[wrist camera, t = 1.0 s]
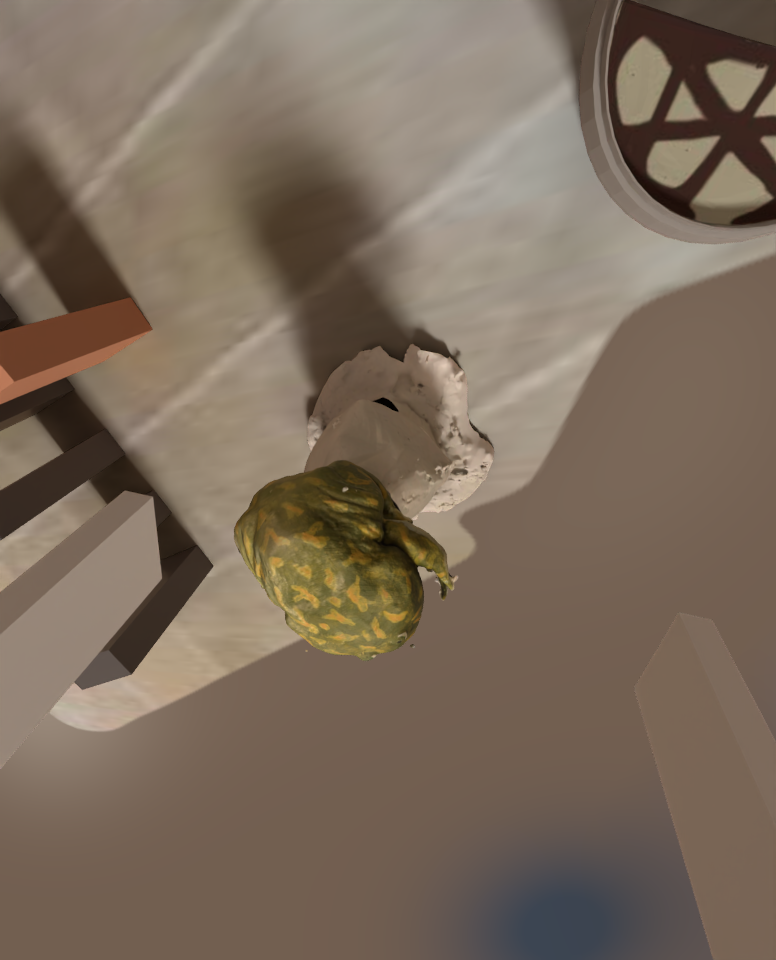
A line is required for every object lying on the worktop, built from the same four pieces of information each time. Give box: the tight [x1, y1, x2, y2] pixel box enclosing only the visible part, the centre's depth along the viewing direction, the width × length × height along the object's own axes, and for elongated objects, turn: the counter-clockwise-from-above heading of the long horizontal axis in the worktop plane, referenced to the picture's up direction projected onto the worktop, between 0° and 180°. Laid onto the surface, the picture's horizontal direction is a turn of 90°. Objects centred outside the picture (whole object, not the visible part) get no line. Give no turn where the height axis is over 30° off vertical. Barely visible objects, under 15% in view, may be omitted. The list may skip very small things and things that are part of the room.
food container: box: [579, 0, 776, 244], centre depth 22 cm, size 12×6×10 cm, turn 73°
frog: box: [234, 344, 494, 661], centre depth 28 cm, size 12×13×18 cm
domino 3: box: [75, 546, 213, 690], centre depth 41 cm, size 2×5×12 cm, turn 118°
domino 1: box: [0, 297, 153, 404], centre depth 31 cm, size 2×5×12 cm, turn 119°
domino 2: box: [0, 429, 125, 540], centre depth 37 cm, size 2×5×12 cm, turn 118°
